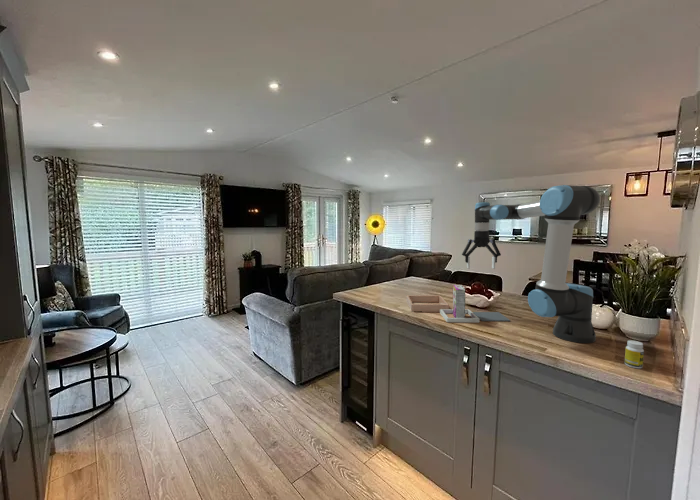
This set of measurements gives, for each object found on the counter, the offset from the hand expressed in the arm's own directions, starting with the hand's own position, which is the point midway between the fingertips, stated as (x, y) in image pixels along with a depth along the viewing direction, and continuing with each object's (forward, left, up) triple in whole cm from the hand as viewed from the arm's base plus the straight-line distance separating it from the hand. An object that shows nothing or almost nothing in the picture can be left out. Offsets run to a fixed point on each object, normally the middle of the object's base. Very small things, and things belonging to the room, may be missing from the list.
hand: (480, 268), depth 172 cm
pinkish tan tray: (+8, +28, -24) cm, 38 cm away
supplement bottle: (-66, -30, -24) cm, 76 cm away
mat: (-12, -2, -24) cm, 27 cm away
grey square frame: (-13, +15, -24) cm, 31 cm away
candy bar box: (-13, +15, -24) cm, 31 cm away
